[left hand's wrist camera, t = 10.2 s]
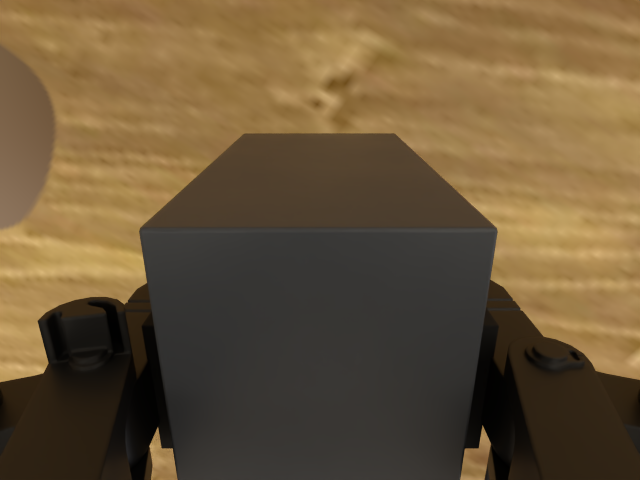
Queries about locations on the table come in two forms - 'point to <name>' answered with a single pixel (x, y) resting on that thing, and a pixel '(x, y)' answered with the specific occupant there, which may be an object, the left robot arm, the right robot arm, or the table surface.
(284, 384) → the bar
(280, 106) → the table surface
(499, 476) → the left robot arm
